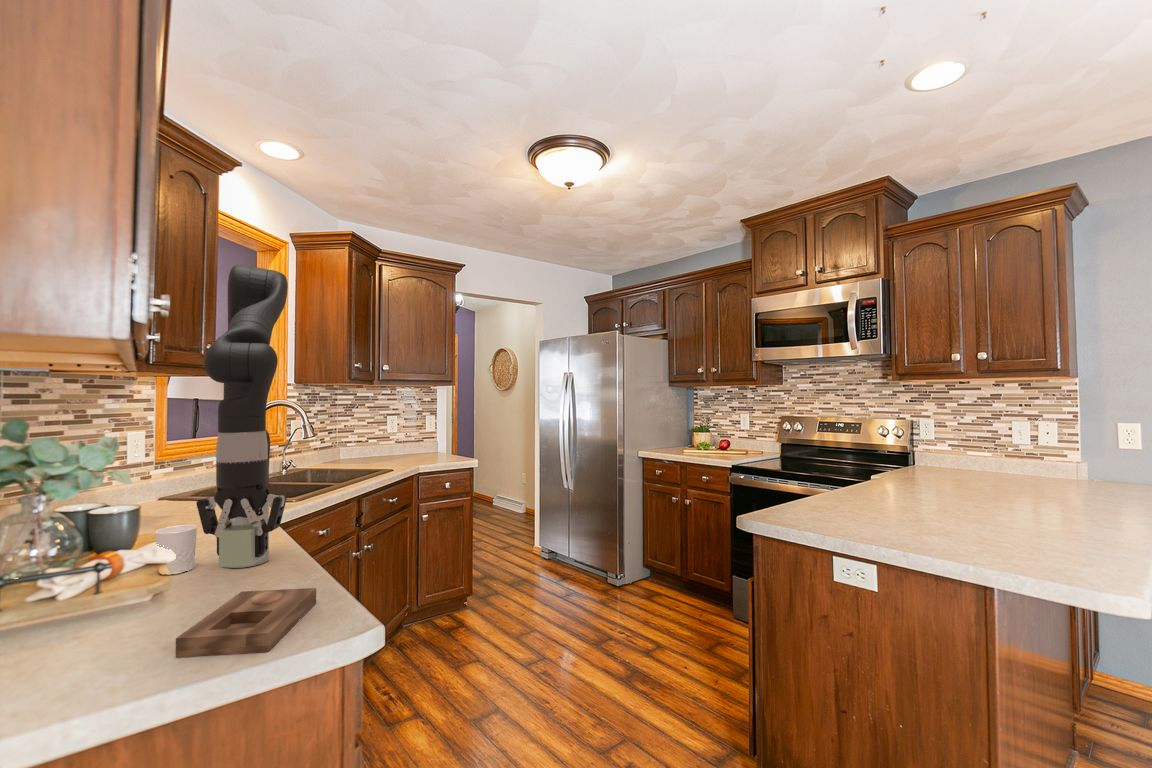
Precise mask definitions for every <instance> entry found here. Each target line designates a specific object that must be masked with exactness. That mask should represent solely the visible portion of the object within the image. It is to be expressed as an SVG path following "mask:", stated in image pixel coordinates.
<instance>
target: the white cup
mask: <svg viewBox="0 0 1152 768" xmlns="http://www.w3.org/2000/svg"><path fill="white" fill-rule="evenodd" d="M197 530H198V525H195V524H182V525H181V524H180V525H174V526H168V527H163V528H160V529H157V530H156V531H155V545H156V544H159V545H157V546H159V547H163V545H164V547H163V548H165V549H168V550H169V549H171V550H172V551H173V552H174V553H175V554H176V559H175V560H174V561H172V562H170V563H167V564H166V565H165V566H166V567H167V568H168V570H169V571H170V573H174V572H184V571H188V570H190V571H192V570H193V569H194V568H195V557H196V549H197V534H198V531H197ZM160 545H161V546H160ZM167 547H168V548H167ZM191 569H192V570H191ZM188 572H189V571H188Z"/></svg>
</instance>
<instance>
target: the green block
mask: <svg viewBox="0 0 1152 768" xmlns="http://www.w3.org/2000/svg"><path fill="white" fill-rule="evenodd" d="M255 536H257V535H256V533H255V528H253V526H252V524H234V525H232V526H230V527H227V528H226V529H223V530H221V531H219V556H218V568H228V567H240V566H251V567H253V566H252V565H253V564H255V563H256V562H258V561H259V560H261V559H263V558H264V557H265V554H264V555H263V556H261V557H255Z"/></svg>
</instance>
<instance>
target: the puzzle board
mask: <svg viewBox="0 0 1152 768" xmlns="http://www.w3.org/2000/svg"><path fill="white" fill-rule="evenodd" d="M316 604H317V587H305V588H286V589H285V588H283V589H267V590H266V589H265V590H250V591H249V590H246V591H245V590H244V591H240V592H239V593H238V594H236V595H234V597H232V598H230V599H229V600H228V601H226V602H225V603H224V604H222V605H220V606H219V607H218V608H217V609H215V610H213V611H212V612H211V613H209V614H207V615H206V616H205V617H204V618H202V619H200V621H198V622H197V623H195V624H194V625H192V626H191V627H190V628H188V629H187V630H185V631H183V633H181V634H179V635H178V636H177V637H175V658H189V657H203V656H206V657H207V656H219V655H235V654H236V655H238V654H239V655H240V654H253V653H254V654H255V653H268V652H270V651H271V650H272V649H273V648H274V647H275V646H276V645H277V644H278V643H279V642H280V641H281V640H280V639H281V638H282V637H283V636H284V635H285V636H286V635H287V634H288V632H290V630H291V629H292V628H293V627H295V625H296V624H297V623H298V622H299V621H300V620H301V619H302V618H303V617H304V616H305V615H306V614H307V613H308V612H309V611H310V610H311V609H312V608H314V606H315V605H316ZM304 614H305V615H304ZM300 618H301V619H300ZM299 619H300V620H299ZM298 620H299V621H298ZM294 624H295V625H294ZM291 627H292V628H291ZM285 636H284V637H285ZM282 639H283V638H282ZM279 640H280V641H279ZM278 641H279V642H278ZM277 642H278V643H277Z"/></svg>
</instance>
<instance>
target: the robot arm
mask: <svg viewBox="0 0 1152 768" xmlns="http://www.w3.org/2000/svg"><path fill="white" fill-rule="evenodd" d="M288 289H289V288H288V279H287V277H286V275H285V274H283V273H282V272H280V271H278V270H273V269H267V268H261V267H257V266H256V267H255V266H252V265H251V266H249V265H245V264H235V265H233V266H232V267H231V269H230V270H229V273H228V279H227V331H225V332H224V333H223V334H222V335H220V336H219V337H218V338H217V339H215V340H214V342H212V344H210V345H209V347H208V348H207V351H206V353H205V357H204V363H203V365H204V370H205V372H206V374H207V375H208V377H209V378H210V379H211V380H212V381H215V382H216V383H220V384H223V399H222V400H220V401H219V403H218V408H217V421H218V422H217V440H216V447H215V448H216V449H215V450H216V451H215V462H216V463H215V469H216V470H215V481H216V482H215V486H216V488H217V490H216V492H215V494H214V496H211V497H210V496H207V497H203V498H200V499H198V500H197V501H196V508H197V511H198V515H199V519H200V523H201V526H202V531H203V534H205V535H209V534H210V535H214V536H215V538H216V554H217V556H218V557H219V531H221V530H223V529H226V528H227V527H230V526H232V525H234V524H252V526H253V528H255V533H256V535H257V536H255V557H261V556H263V555H264V554H265V557H264V558H263V559H261V560H259V561H258V562H256V563H255V564H253V565H252V566H240V567H227V568H229V569H242V568H243V569H244V568H251V567H254V566H259V565H261V564H264V563H266V562H268V561H269V558H270V532H272V531H274V530H276V529H278V528H279V527H281V523H282V519H283V515H284V511H285V506H286V503H287V495H286V494H281V495H279V494H277V495H276V494H274V493H271V492H270V487H269V486H270V479H269V478H270V455H271V436H270V434H269V431H268V430H267V426H266V425H267V420H266V419H267V417H266V416H267V403H268V396H269V393H270V390H271V386H272V383H273V380H274V378H275V374H276V372H277V367H278V364H279V363H278V360H279V359H278V355H277V352H276V351H275V349H274V348H273V347H272V346H271V345H270V344H271V339H272V335H273V334H272V333H273V329H274V326H276V325H275V324H276V323H277V322H278V320H279V318H280V317H281V315H282V313H283V310H284V308H285V305H286V304H287V298H288ZM217 506H218V507H219V509H221V512H220V514H219V518H218V516H217V513H216V509H215V508H216V507H217ZM269 510H270V511H269Z"/></svg>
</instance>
